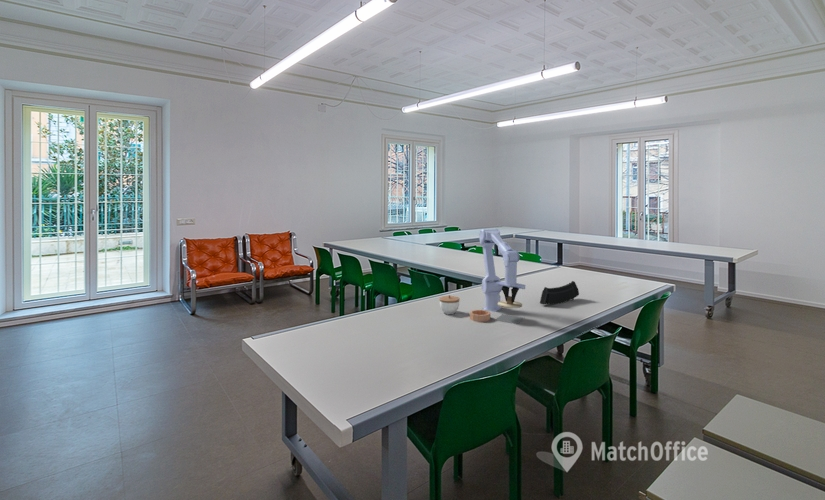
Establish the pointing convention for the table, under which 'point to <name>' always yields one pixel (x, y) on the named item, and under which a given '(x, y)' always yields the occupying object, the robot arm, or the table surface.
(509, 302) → the lid
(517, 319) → the mat
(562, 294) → the magazine
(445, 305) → the lidded jar
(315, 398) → the table surface
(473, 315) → the dish
